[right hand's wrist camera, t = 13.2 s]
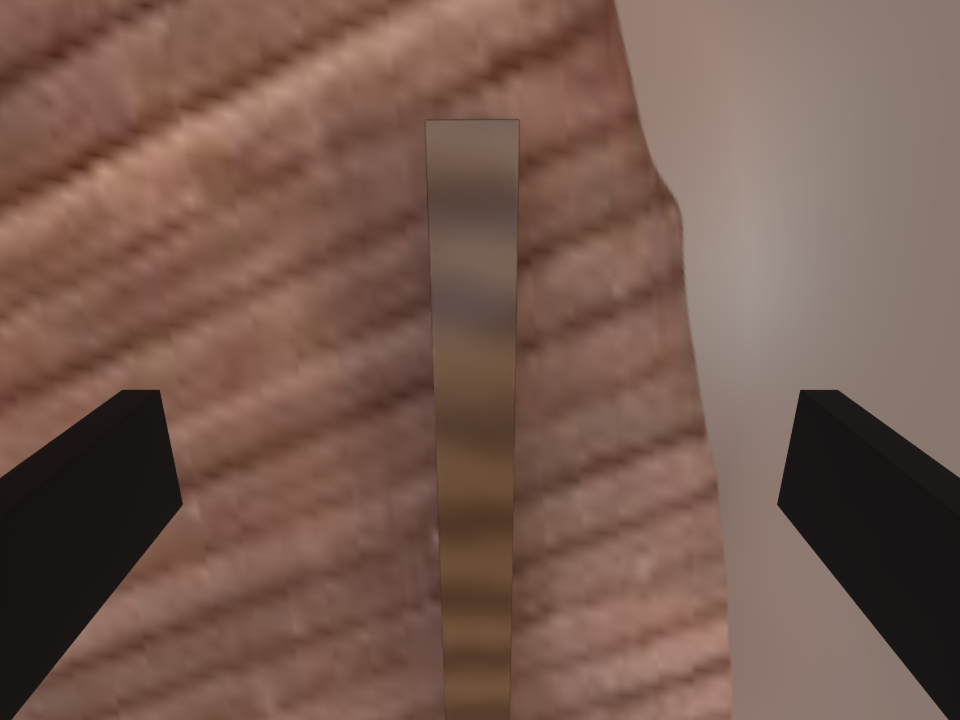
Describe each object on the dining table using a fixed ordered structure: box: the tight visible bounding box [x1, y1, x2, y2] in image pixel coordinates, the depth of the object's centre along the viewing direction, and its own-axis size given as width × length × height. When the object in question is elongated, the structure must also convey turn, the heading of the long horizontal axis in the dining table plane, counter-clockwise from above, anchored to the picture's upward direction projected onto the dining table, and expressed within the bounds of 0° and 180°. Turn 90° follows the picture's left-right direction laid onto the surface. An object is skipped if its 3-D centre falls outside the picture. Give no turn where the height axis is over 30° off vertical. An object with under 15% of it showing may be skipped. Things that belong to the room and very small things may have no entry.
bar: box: [425, 119, 520, 720], centre depth 44 cm, size 58×5×8 cm, turn 0°
